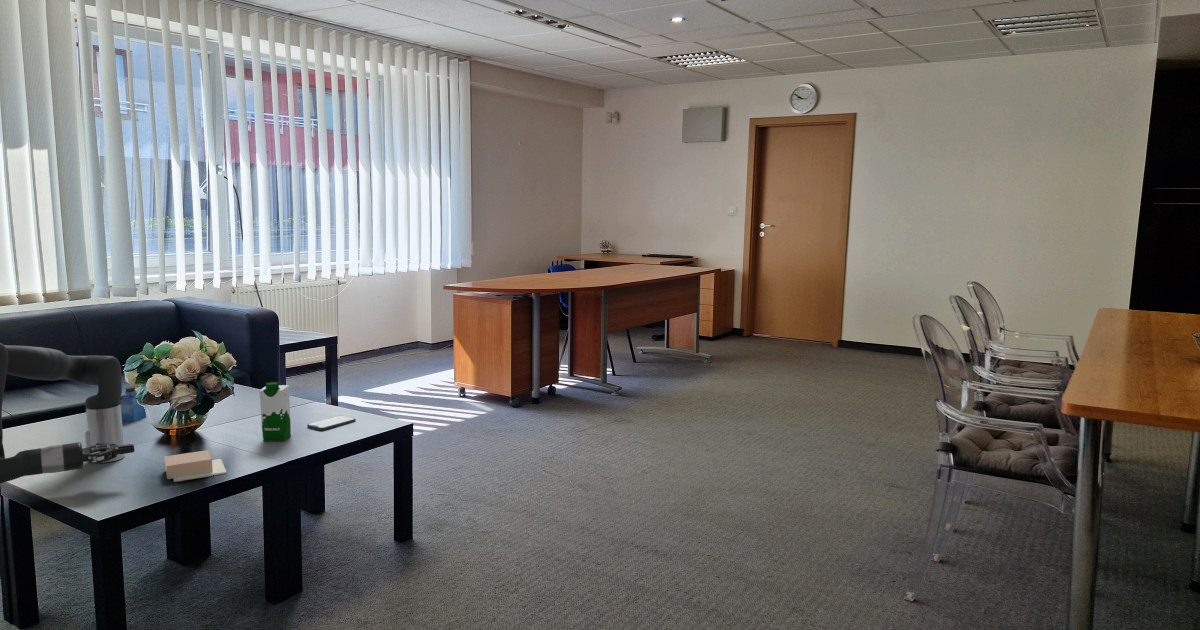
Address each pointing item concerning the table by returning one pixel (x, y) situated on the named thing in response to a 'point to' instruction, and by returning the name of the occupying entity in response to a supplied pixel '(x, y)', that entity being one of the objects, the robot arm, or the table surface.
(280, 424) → the milk carton
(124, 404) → the perfume bottle
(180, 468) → the beige rectangular block
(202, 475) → the felt mat
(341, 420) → the phone case
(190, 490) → the table surface
